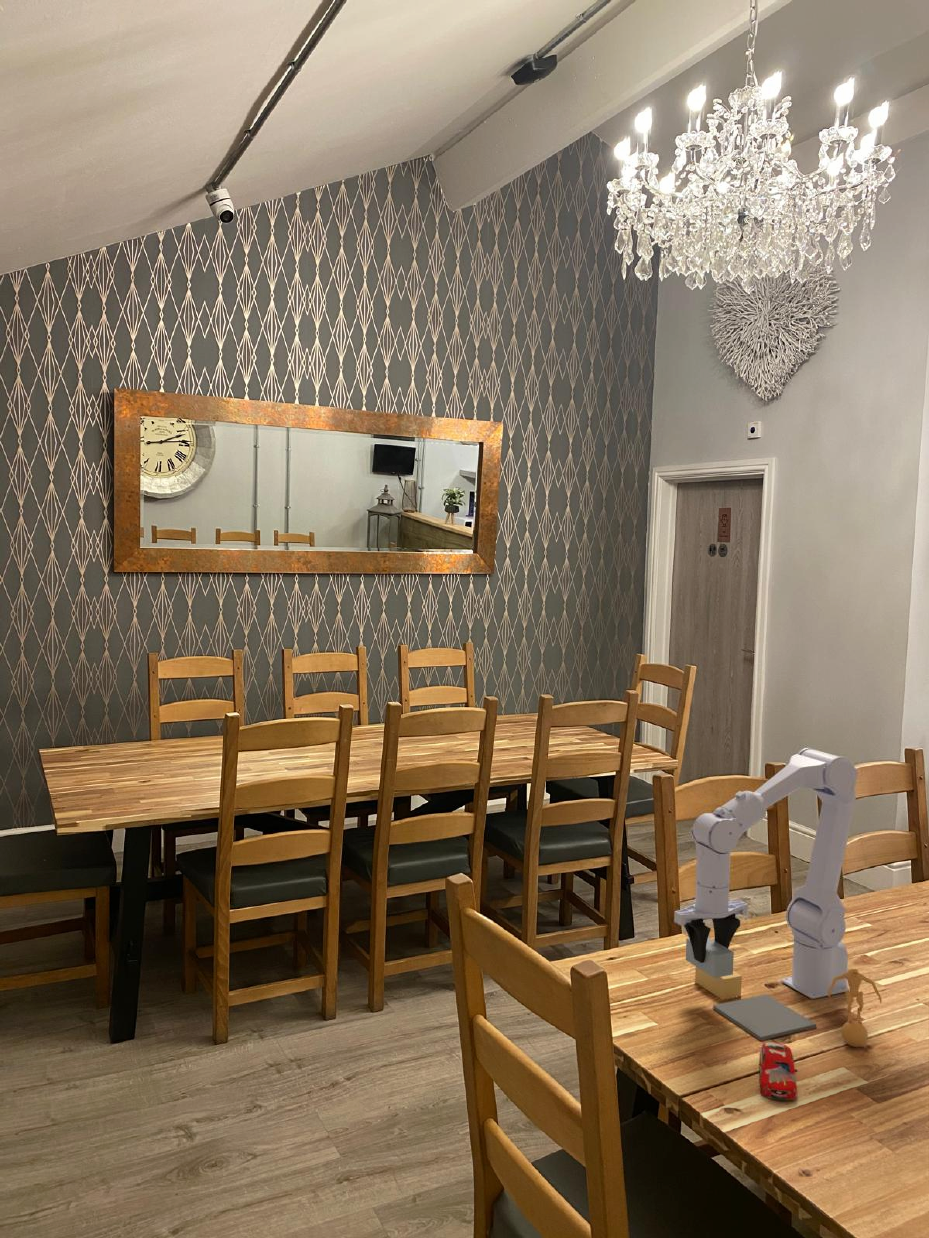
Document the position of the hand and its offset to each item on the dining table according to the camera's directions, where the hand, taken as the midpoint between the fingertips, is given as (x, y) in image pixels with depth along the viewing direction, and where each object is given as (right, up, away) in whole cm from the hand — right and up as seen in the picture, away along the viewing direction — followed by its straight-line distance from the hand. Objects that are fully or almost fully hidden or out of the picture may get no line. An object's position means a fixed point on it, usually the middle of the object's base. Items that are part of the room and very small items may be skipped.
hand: (709, 958), depth 168 cm
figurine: (+20, -10, -12) cm, 26 cm away
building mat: (+8, -9, -4) cm, 13 cm away
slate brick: (0, -2, 0) cm, 2 cm away
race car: (+4, -10, -24) cm, 26 cm away
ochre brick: (+3, -8, +7) cm, 11 cm away
